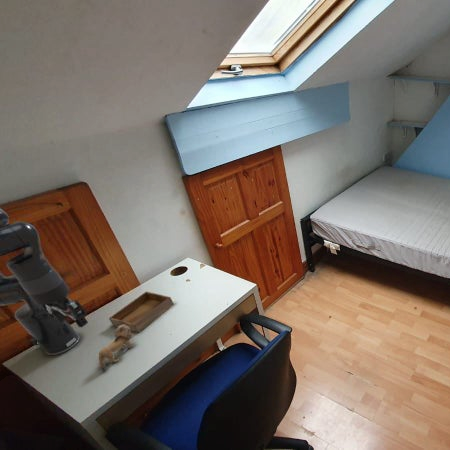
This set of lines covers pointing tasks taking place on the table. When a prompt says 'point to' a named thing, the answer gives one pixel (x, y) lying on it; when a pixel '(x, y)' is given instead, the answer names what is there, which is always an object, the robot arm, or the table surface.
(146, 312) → the brown wooden shallow box
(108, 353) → the lion figurine
